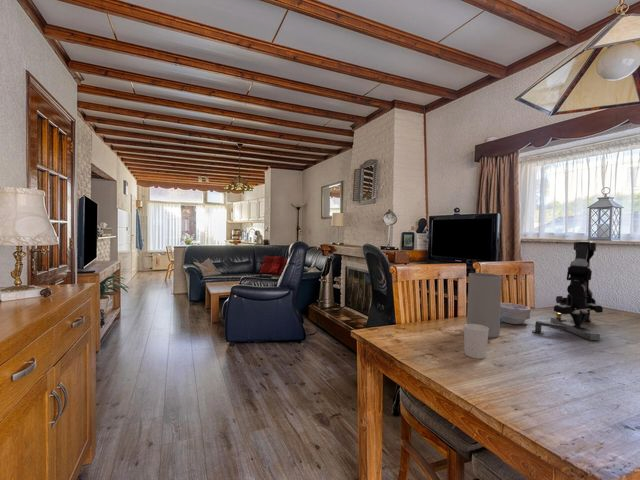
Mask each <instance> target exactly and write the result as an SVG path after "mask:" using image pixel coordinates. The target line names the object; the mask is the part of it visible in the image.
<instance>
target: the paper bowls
mask: <svg viewBox="0 0 640 480" xmlns="http://www.w3.org/2000/svg"><path fill="white" fill-rule="evenodd" d="M500 318H501V319H502V323H503V322H504V323H507V324H511V325H523V324H525V322H526V320H530V319H531V307H529V306H526V305H522V304H517V303H510V302H501V309H500Z"/></svg>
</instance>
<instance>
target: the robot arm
mask: <svg viewBox="0 0 640 480" xmlns="http://www.w3.org/2000/svg"><path fill="white" fill-rule="evenodd" d="M573 251H575V257H574V260H572V261H570V265H569V266H568V267H567V272H566V273H567V274H566V281H569V284H568V286H567V287H566V291H567V296H566V297H563V296H562V295H557V296H556V297H555V302H556V304H555V305H554V306H553V311H554V313H555V312H558V313H561V314H563V315H570V316H571V319H572V320H573V324H575V325H578V326H580V327H582V325H583V323H584V322H587V323H588V322H589V323H591V321H592V318H591V311H594V312H595V313H597V314H598V313H601V314H602V313H603V309H604V308H603V307H602V306H601V305H600V304H597V302H596V299H595V297H593V292H592V290H591V289H590V281H591V280H592V273H593V271H592V269H591V267H590V265H591V264H590V263H591V259H592V258H593V256H594V255H595V252H597V243H596V242H594V241H588V240H578V241H574V242H573Z"/></svg>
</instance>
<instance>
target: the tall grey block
mask: <svg viewBox="0 0 640 480" xmlns="http://www.w3.org/2000/svg"><path fill="white" fill-rule="evenodd" d="M502 278H503V276H502V275H500V274H495V273H487V272H486V273H483V272H481V273H480V272H470V273H468V282H467V283H468V286H467V287H468V289H467V290H468V291H467V314H466V315H467V316H466V324H478V325H483V326H486V327H488V328H489V332H488V339H493V338H498V337H499V336H500V332H501V331H500V328H501V327H500V326H501V324H500V309H501V303H502V301H501V300H502V285H503V283H502V282H503V281H502V280H503V279H502Z"/></svg>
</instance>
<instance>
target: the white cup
mask: <svg viewBox="0 0 640 480" xmlns="http://www.w3.org/2000/svg"><path fill="white" fill-rule="evenodd" d="M488 332H489V328H488V327H486V326H483V325H478V324H467V323H465V324H463V344H464V354H465V355H466V356H467V357H469V358H471V359H480V360H481V359H485V358H486V357H487V350H488V339H489V338H488Z"/></svg>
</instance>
